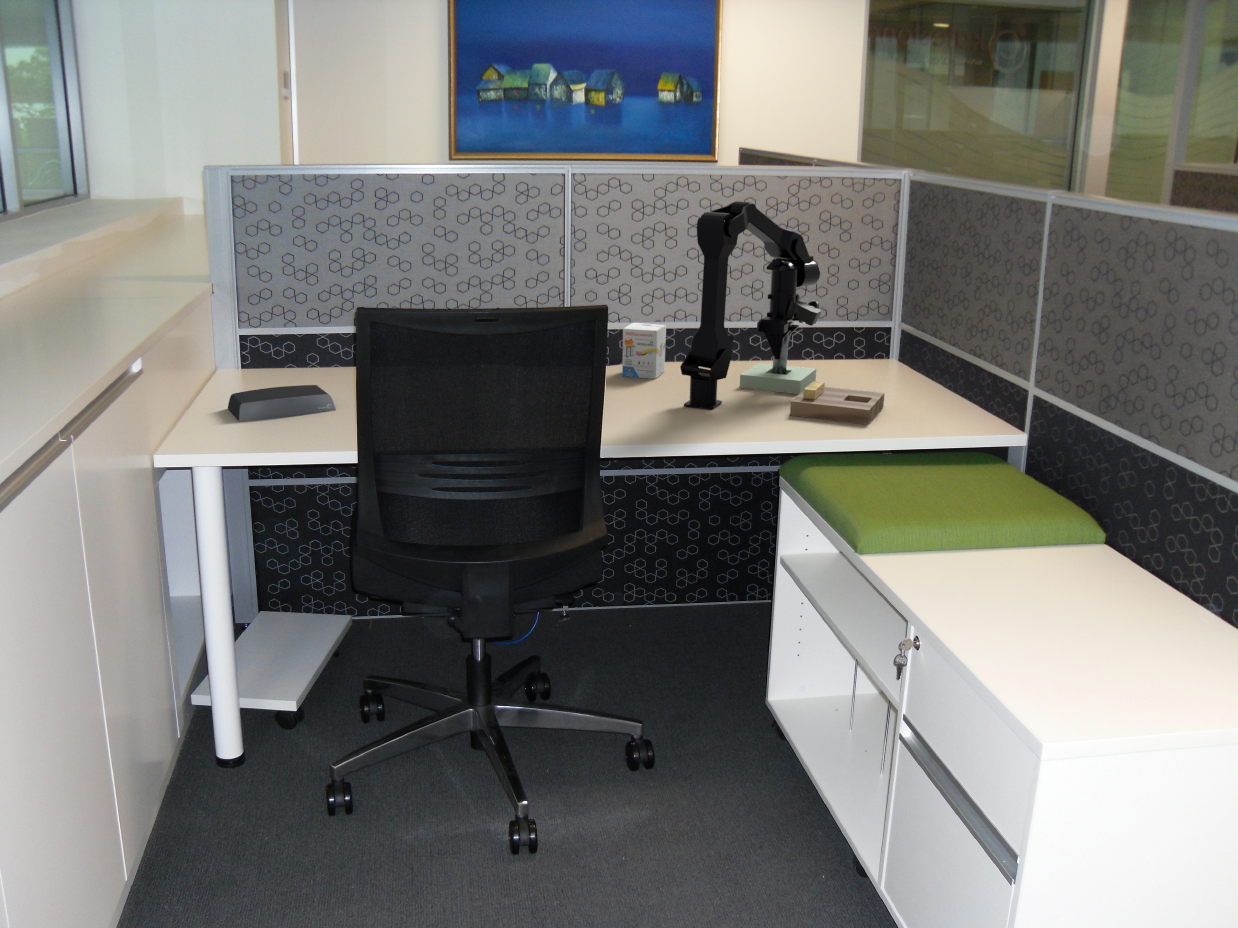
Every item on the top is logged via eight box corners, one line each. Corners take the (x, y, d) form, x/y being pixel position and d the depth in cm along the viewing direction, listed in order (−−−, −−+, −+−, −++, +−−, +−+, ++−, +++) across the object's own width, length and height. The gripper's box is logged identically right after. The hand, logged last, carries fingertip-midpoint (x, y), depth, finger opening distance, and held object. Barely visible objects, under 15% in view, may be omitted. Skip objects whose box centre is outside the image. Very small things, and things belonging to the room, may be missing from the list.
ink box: (621, 376, 251) (621, 327, 247) (631, 369, 258) (631, 321, 255) (656, 379, 248) (657, 329, 245) (665, 372, 256) (666, 323, 253)
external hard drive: (337, 413, 218) (336, 394, 217) (239, 425, 209) (237, 404, 207) (320, 399, 229) (319, 381, 227) (227, 410, 219) (225, 390, 218)
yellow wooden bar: (814, 399, 218) (815, 390, 217) (803, 398, 219) (803, 389, 218) (824, 391, 225) (824, 382, 224) (812, 390, 226) (813, 381, 225)
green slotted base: (799, 394, 236) (800, 380, 235) (739, 387, 241) (740, 374, 240) (815, 381, 248) (816, 368, 247) (757, 375, 253) (758, 363, 252)
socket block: (868, 424, 212) (869, 410, 211) (790, 415, 218) (790, 401, 217) (883, 406, 226) (884, 392, 225) (809, 398, 232) (810, 385, 231)
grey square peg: (783, 379, 242) (787, 336, 239) (770, 377, 243) (773, 334, 240) (787, 376, 245) (790, 333, 242) (773, 375, 246) (776, 332, 243)
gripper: (808, 297, 227) (803, 369, 231) (828, 286, 243) (824, 353, 248) (757, 294, 231) (754, 364, 236) (781, 283, 247) (777, 349, 252)
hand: (779, 357), depth 243 cm, fingers closed on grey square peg, 3 cm apart
